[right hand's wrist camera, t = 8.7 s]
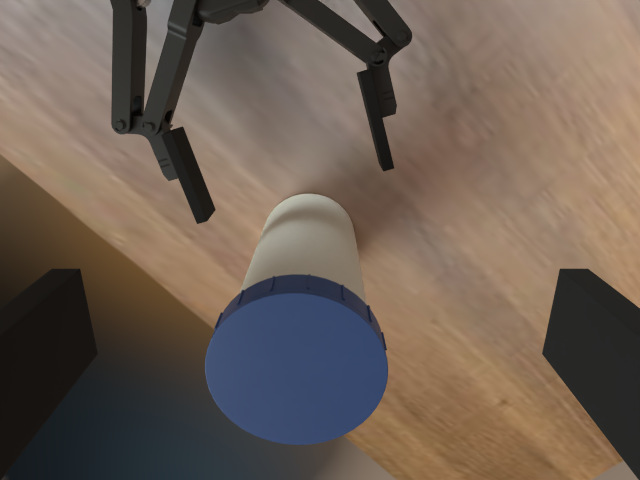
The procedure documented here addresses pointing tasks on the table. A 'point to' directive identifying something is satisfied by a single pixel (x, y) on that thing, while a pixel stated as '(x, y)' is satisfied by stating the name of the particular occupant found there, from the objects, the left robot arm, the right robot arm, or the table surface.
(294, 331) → the lid
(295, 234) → the jar
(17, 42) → the table surface
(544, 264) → the table surface
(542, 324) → the table surface
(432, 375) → the table surface
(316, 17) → the left robot arm
